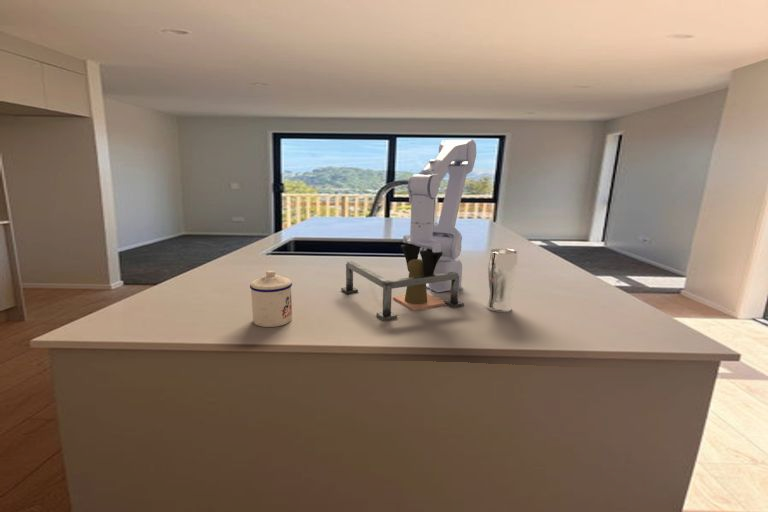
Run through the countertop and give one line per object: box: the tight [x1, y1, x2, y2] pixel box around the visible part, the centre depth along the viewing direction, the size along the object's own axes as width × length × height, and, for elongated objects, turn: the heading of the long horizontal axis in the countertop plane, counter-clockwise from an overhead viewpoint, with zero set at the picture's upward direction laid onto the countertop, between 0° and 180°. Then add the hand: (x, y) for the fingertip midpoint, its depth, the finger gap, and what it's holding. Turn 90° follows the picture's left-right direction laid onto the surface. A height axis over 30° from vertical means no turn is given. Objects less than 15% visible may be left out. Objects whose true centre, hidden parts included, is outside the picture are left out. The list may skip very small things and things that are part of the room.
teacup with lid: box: [249, 269, 293, 328], centre depth 90 cm, size 12×9×12 cm
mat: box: [392, 293, 446, 312], centre depth 104 cm, size 10×10×1 cm
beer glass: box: [486, 248, 519, 313], centre depth 99 cm, size 7×7×15 cm
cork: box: [404, 258, 428, 304], centre depth 103 cm, size 6×6×11 cm
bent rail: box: [340, 260, 465, 322], centre depth 106 cm, size 24×26×9 cm
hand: (419, 274), depth 103 cm, fingers open, 7 cm apart
